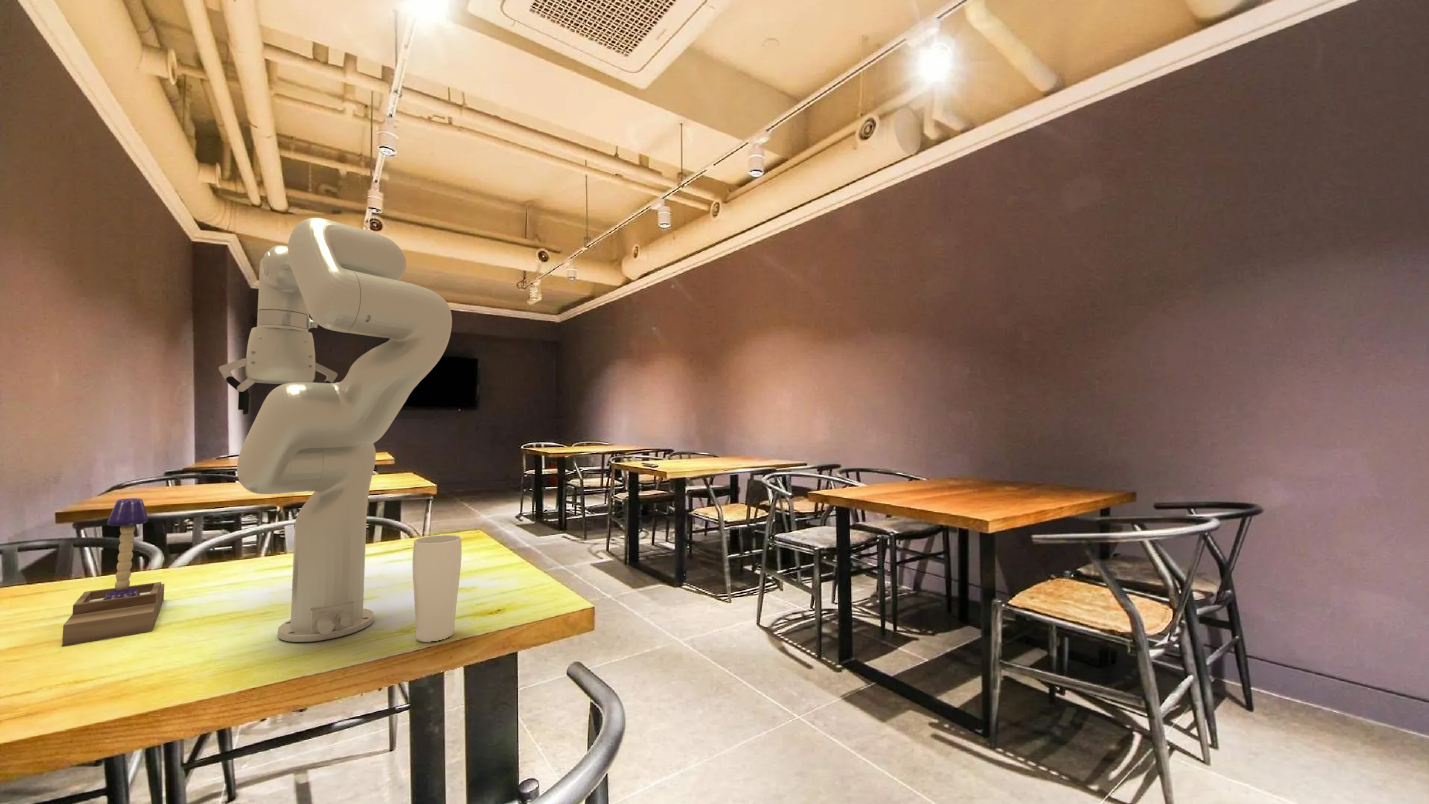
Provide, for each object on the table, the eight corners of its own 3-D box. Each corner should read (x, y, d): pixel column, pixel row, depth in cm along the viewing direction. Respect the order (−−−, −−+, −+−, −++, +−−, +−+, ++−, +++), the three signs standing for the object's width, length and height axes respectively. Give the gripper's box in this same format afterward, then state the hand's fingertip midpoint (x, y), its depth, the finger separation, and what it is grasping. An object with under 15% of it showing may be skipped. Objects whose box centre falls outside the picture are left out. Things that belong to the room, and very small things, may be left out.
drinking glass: (467, 629, 88) (470, 535, 88) (442, 646, 81) (445, 544, 82) (428, 628, 88) (430, 534, 89) (399, 644, 82) (403, 542, 82)
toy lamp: (149, 594, 94) (154, 496, 95) (135, 602, 90) (140, 500, 90) (111, 598, 92) (116, 498, 93) (94, 606, 88) (100, 501, 88)
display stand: (152, 631, 86) (153, 601, 86) (61, 646, 80) (63, 614, 80) (163, 600, 101) (164, 575, 101) (88, 610, 95) (90, 584, 95)
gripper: (336, 331, 111) (332, 415, 110) (221, 320, 100) (217, 414, 99) (341, 326, 106) (338, 415, 105) (221, 314, 94) (216, 413, 93)
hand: (279, 414), depth 102 cm, fingers open, 9 cm apart
